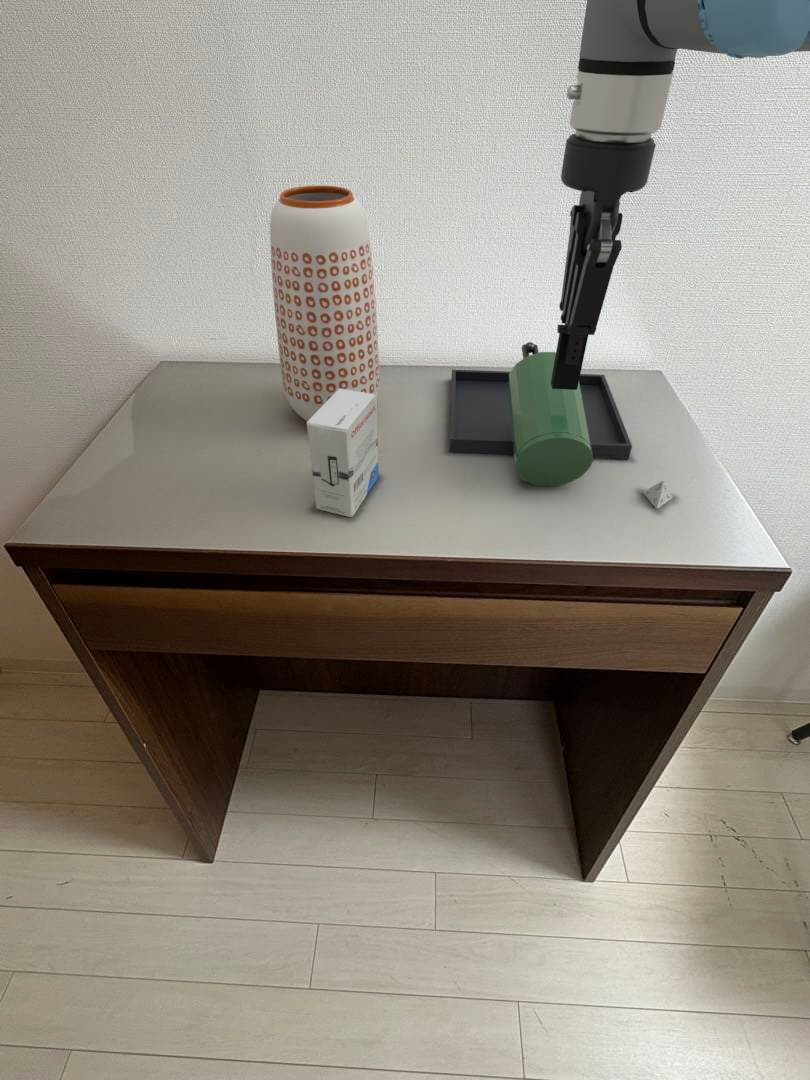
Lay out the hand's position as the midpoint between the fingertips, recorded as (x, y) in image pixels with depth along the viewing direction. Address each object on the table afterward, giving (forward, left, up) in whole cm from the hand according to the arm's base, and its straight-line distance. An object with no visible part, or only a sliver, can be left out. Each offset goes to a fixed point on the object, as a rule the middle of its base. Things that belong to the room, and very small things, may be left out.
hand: (563, 386), depth 68 cm
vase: (+32, -3, -13) cm, 34 cm away
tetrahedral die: (-13, -1, -13) cm, 18 cm away
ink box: (+21, +13, -13) cm, 28 cm away
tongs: (+4, -10, -8) cm, 13 cm away
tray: (+6, -14, -13) cm, 20 cm away
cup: (-1, +3, -8) cm, 9 cm away
